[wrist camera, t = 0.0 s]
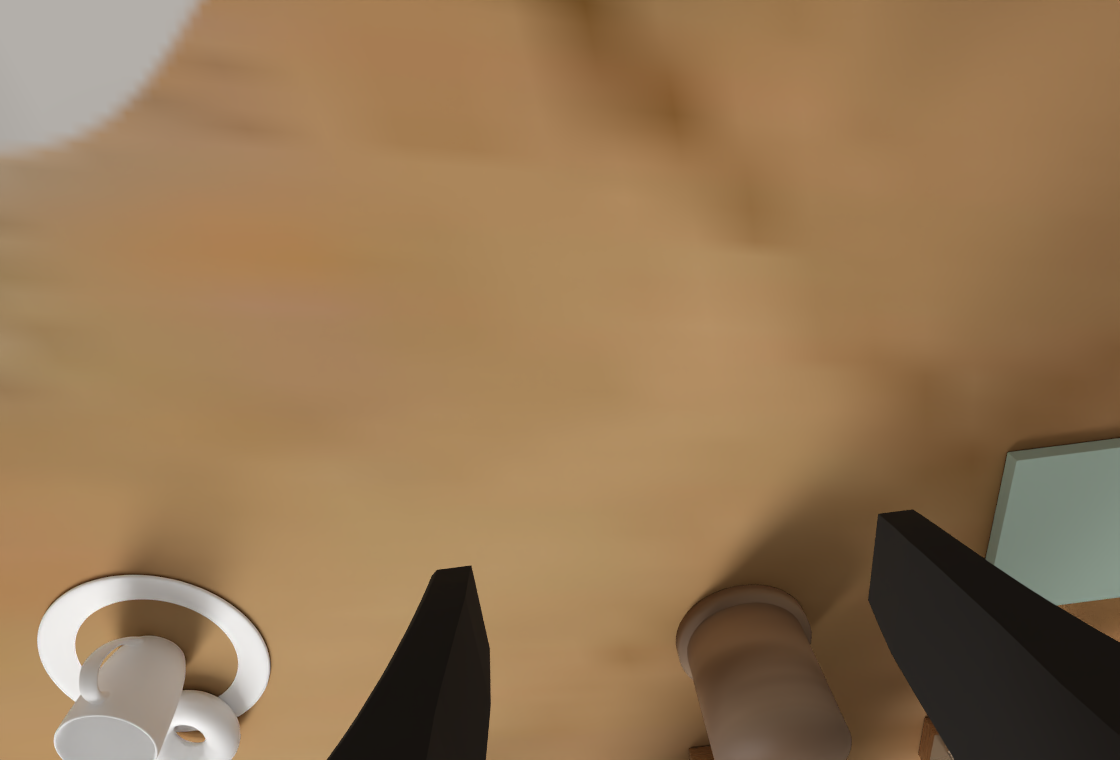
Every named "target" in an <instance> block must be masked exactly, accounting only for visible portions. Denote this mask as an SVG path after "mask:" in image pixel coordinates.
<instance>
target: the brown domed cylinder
mask: <svg viewBox="0 0 1120 760" xmlns="http://www.w3.org/2000/svg"><path fill="white" fill-rule="evenodd" d="M811 638H812V636H811V627H810V624H809V622H808V620H807V617H806V615H805V613H804V611H803V609H802V607H801V606H800V604H799V603H798V602H797V601H796V600H795V599H794V598H793V597H792V596H791V595H789V594H788V593H786V592H784V591H782V590H779V589H777V588H774V587H770V586H764V585H740V586H734V587H730V588H726V589H723V590H720V591H718V592H715V593H713V594H711V595H709V596H707V597H706V598H704V599H702V600H701V601H699V602H698V603H697V604H696V605H694V606H693V607H692V608H691V609H690V610H689V611H688V612H687V614H686V615H685V616H684V618H683V619H682V621H681V623H680V625H679V627H678V630H677V634H676V647H677V651H678V655H679V659H680V663H681V665H682V668H683V669H684V671H685V672H686V674H687V675H688V676H689V677H690V678H691V679H692V680H693V681H694V685H695V689H696V692H697V696H698V700H699V704H700V707H701V711H702V715H703V719H704V723H705V726H706V730H707V734H708V738H709V741H710V745H711V749H712V753H713V757H714V760H846V759H847V757H848V755H849V753H850V750H851V745H852V739H851V734H850V731H849V729H848V727H847V725H846V723H845V720H844V718H843V716H842V714H841V712H840V709H839V707H838V705H837V703H836V701H835V698H834V696H833V694H832V692H831V690H830V688H829V685H828V683H827V681H826V679H825V677H824V674H823V672H822V670H821V668H820V666H819V663H818V661H817V659H816V657H815V655H814V653H813V650H812V648H811V646H810V644H811Z"/></svg>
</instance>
